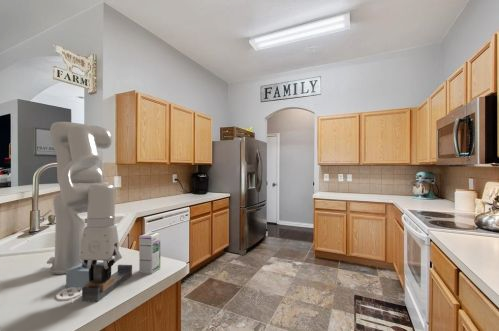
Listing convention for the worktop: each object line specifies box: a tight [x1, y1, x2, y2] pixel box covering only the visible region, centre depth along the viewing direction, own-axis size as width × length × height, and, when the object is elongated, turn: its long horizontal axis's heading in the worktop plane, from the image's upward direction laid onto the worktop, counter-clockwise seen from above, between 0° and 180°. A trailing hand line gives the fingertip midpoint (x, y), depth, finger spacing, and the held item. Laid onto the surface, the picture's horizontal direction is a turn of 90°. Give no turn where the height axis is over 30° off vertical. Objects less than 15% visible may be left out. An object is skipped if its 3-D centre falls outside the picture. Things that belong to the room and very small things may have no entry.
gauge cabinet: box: [65, 261, 103, 289], centre depth 82 cm, size 8×8×6 cm
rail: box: [81, 264, 133, 303], centre depth 79 cm, size 5×18×4 cm, turn 176°
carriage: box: [85, 263, 114, 291], centre depth 74 cm, size 6×5×7 cm
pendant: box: [55, 287, 82, 304], centre depth 73 cm, size 7×11×1 cm, turn 44°
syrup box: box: [138, 231, 161, 275], centre depth 93 cm, size 6×6×14 cm
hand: (100, 279), depth 74 cm, fingers closed on carriage, 3 cm apart
